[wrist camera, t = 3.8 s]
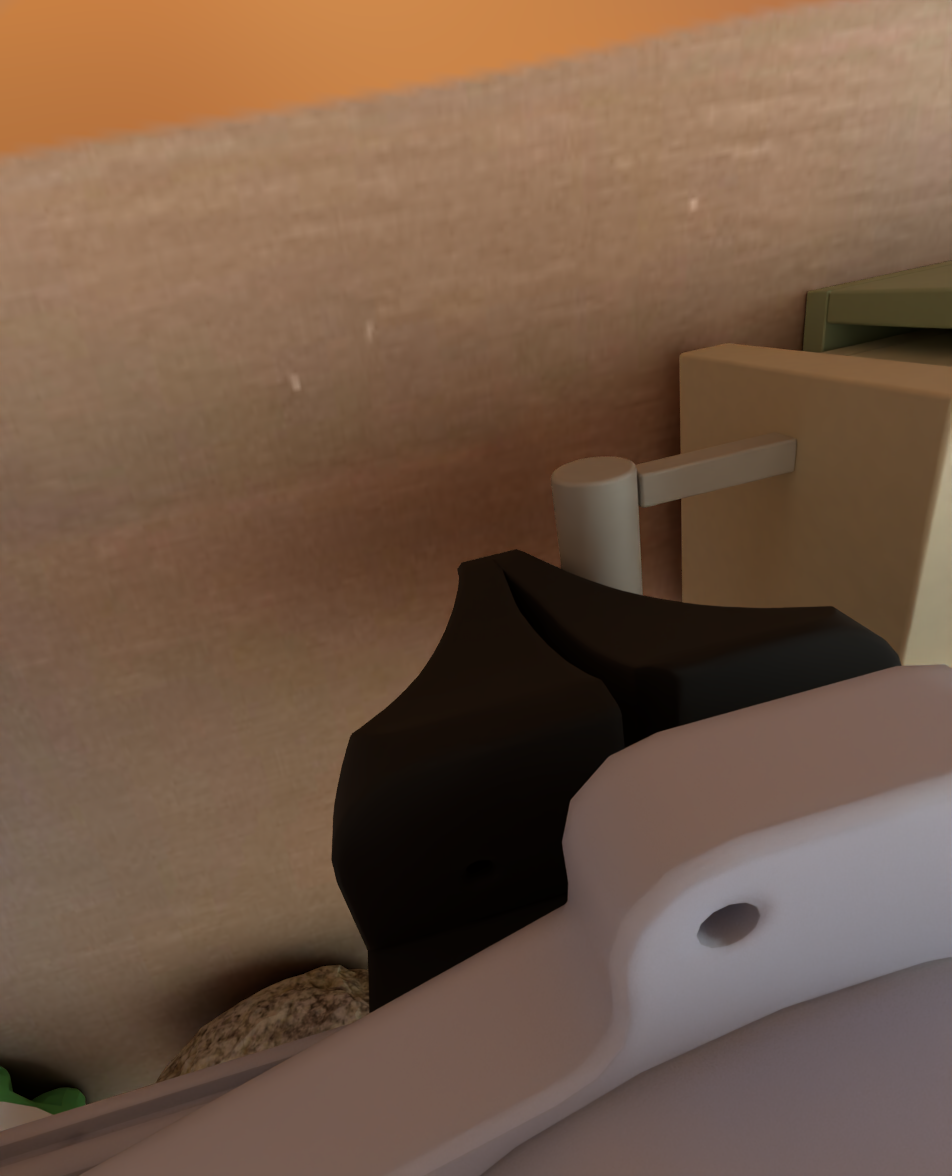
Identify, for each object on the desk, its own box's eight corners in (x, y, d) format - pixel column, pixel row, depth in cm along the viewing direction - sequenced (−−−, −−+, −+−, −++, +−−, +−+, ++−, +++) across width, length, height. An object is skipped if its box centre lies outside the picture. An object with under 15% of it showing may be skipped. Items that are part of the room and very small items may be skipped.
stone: (444, 1000, 23) (500, 1428, 14) (197, 1074, 22) (94, 1579, 13) (412, 903, 20) (456, 1363, 12) (125, 984, 19) (-64, 1551, 11)
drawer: (537, 664, 16) (646, 880, 10) (494, 393, 12) (621, 474, 7) (1073, 523, 17) (1447, 638, 11) (1163, 247, 14) (1762, 204, 8)
